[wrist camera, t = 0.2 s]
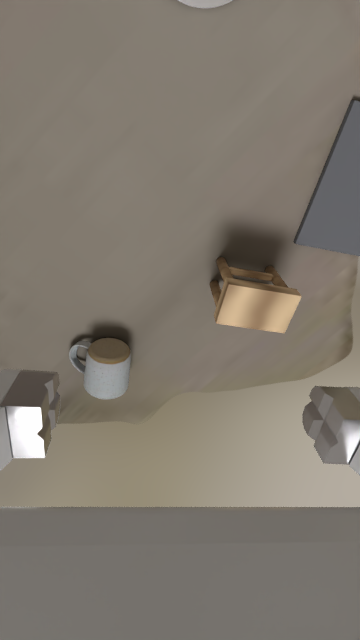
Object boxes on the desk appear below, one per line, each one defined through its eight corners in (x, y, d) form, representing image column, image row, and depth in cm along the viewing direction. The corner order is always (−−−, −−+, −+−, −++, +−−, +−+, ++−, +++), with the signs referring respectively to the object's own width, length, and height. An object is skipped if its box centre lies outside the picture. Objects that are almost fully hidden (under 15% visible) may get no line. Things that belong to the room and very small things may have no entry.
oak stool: (206, 288, 52) (216, 323, 44) (216, 254, 49) (228, 284, 41) (264, 298, 54) (284, 333, 46) (277, 265, 51) (301, 296, 42)
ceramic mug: (133, 336, 57) (129, 366, 50) (129, 372, 61) (125, 403, 55) (71, 330, 55) (58, 359, 49) (71, 366, 60) (60, 397, 53)
